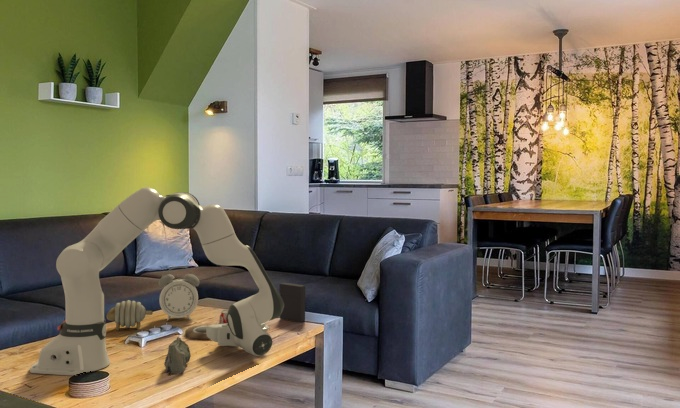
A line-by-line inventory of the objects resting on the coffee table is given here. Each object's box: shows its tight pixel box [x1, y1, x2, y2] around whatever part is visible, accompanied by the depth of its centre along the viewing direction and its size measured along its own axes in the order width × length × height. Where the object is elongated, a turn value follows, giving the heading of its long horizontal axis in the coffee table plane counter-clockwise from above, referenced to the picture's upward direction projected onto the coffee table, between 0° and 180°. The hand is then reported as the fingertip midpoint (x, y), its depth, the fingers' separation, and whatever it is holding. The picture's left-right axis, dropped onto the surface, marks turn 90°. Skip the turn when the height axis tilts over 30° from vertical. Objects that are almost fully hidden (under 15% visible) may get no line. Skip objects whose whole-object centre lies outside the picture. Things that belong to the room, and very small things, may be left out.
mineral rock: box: [163, 336, 192, 375], centre depth 183 cm, size 13×11×10 cm
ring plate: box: [184, 324, 212, 341], centre depth 221 cm, size 16×16×2 cm
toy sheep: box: [105, 299, 154, 332], centre depth 227 cm, size 11×17×11 cm, turn 110°
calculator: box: [278, 282, 306, 323], centre depth 244 cm, size 11×4×15 cm, turn 58°
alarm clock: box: [157, 266, 200, 322], centre depth 242 cm, size 16×9×22 cm, turn 104°
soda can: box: [218, 308, 232, 347], centre depth 208 cm, size 7×7×12 cm
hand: (228, 323), depth 208 cm, fingers closed on soda can, 7 cm apart
